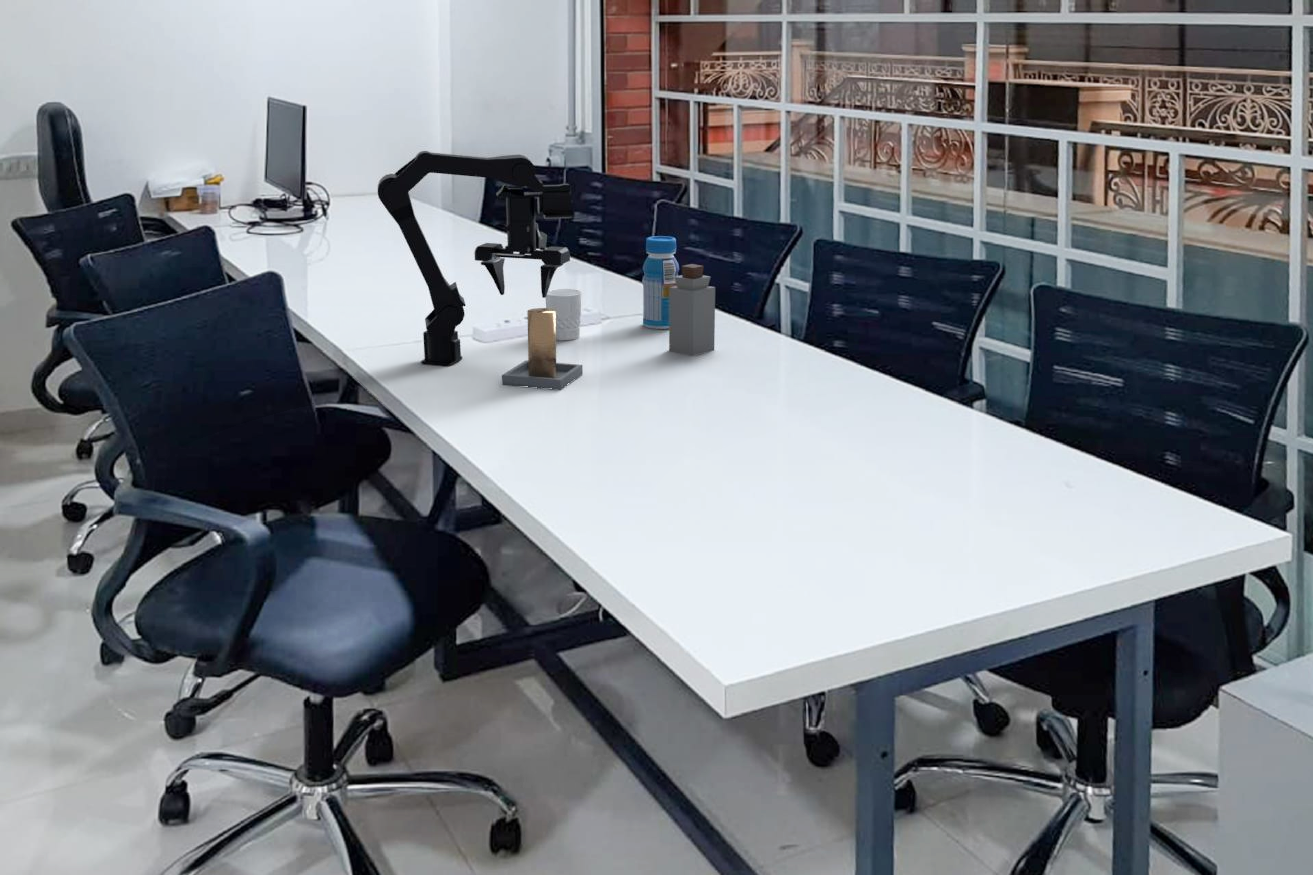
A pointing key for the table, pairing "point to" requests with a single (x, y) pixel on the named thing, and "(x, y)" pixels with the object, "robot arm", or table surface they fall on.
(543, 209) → the robot arm
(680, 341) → the perfume bottle
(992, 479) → the table surface
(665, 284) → the beverage bottle
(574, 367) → the tray
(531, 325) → the can
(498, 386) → the table surface
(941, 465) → the table surface
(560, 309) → the white cup
